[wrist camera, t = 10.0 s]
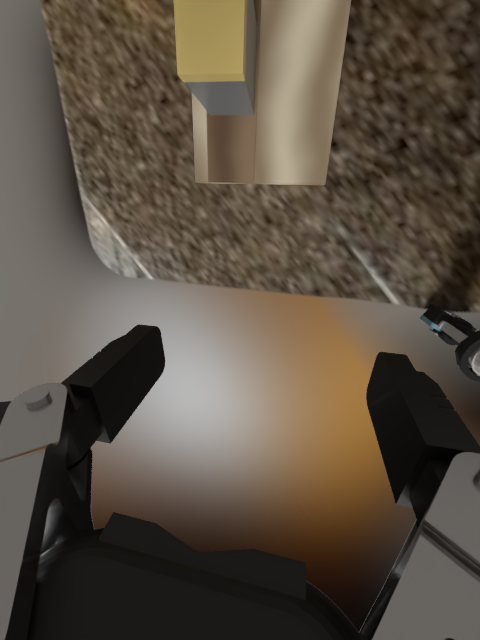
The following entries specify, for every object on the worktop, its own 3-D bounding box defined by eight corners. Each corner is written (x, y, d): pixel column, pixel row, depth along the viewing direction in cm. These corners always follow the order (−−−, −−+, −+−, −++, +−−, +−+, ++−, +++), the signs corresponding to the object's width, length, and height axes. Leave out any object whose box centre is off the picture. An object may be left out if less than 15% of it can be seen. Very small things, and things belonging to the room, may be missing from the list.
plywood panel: (358, -65, 21) (363, -83, 20) (323, 185, 28) (325, 184, 27) (190, -51, 23) (184, -66, 21) (198, 182, 30) (194, 182, 29)
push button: (483, 317, 32) (566, 362, 23) (450, 350, 34) (513, 403, 25) (437, 292, 31) (502, 328, 22) (406, 327, 34) (454, 373, 24)
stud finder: (257, 30, 23) (246, -66, 15) (254, 115, 26) (243, 73, 17) (208, 32, 24) (170, -60, 15) (209, 115, 26) (177, 74, 18)
